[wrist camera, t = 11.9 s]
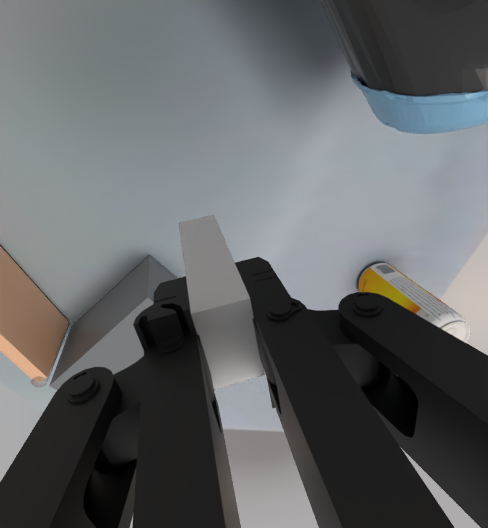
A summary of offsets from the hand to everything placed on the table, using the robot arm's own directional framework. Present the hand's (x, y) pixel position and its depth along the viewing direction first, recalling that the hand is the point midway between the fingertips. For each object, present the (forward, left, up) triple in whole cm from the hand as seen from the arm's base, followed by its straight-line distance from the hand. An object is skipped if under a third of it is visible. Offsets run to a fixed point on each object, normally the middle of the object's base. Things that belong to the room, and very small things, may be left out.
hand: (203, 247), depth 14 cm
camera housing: (+18, -9, -25) cm, 33 cm away
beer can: (+23, +25, -25) cm, 42 cm away
